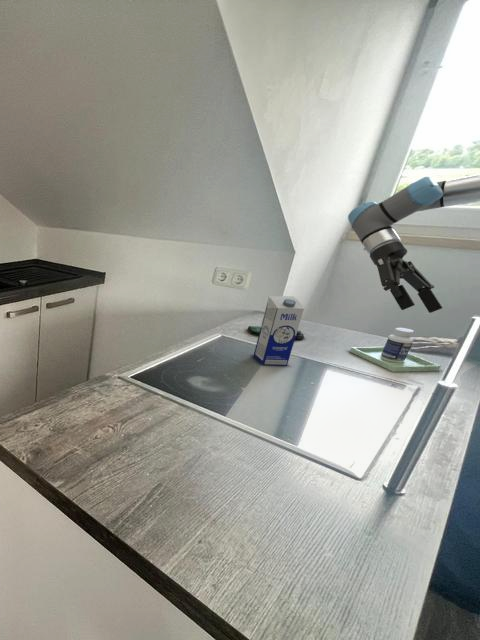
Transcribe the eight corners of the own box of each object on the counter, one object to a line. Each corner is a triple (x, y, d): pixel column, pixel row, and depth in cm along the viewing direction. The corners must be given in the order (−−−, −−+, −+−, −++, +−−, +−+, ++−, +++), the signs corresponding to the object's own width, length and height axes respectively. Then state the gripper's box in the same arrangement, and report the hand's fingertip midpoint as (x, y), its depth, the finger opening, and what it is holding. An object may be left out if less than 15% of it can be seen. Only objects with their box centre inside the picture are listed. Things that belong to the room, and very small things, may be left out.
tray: (439, 370, 112) (441, 366, 111) (392, 371, 112) (394, 367, 111) (390, 350, 126) (392, 346, 125) (349, 351, 126) (351, 347, 125)
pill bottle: (398, 364, 115) (411, 333, 111) (376, 358, 120) (388, 328, 116) (407, 361, 117) (421, 330, 113) (385, 354, 122) (397, 325, 118)
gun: (254, 334, 139) (247, 325, 147) (253, 337, 139) (246, 328, 148) (307, 338, 134) (298, 328, 142) (306, 342, 134) (297, 332, 143)
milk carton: (276, 356, 124) (294, 295, 115) (287, 365, 117) (307, 301, 109) (252, 356, 125) (268, 295, 116) (262, 364, 119) (279, 301, 110)
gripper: (394, 260, 125) (430, 317, 116) (344, 251, 116) (379, 313, 108) (423, 245, 118) (464, 304, 110) (373, 234, 110) (412, 298, 102)
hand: (422, 309), depth 109 cm, fingers open, 13 cm apart
